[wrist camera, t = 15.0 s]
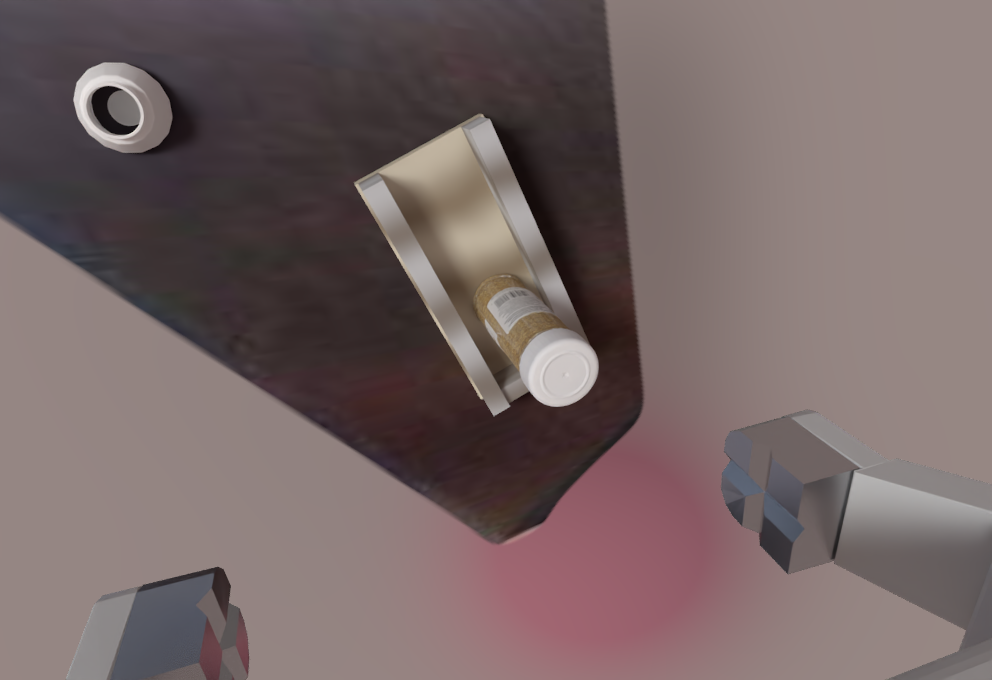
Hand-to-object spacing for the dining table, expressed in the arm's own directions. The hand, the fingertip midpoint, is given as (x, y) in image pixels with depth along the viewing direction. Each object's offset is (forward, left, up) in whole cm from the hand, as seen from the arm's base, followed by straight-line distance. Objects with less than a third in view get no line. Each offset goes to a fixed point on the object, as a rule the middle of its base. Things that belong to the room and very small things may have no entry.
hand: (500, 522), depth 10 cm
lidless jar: (-9, -10, -37) cm, 39 cm away
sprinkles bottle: (+14, +5, -36) cm, 39 cm away
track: (+11, +5, -37) cm, 39 cm away
